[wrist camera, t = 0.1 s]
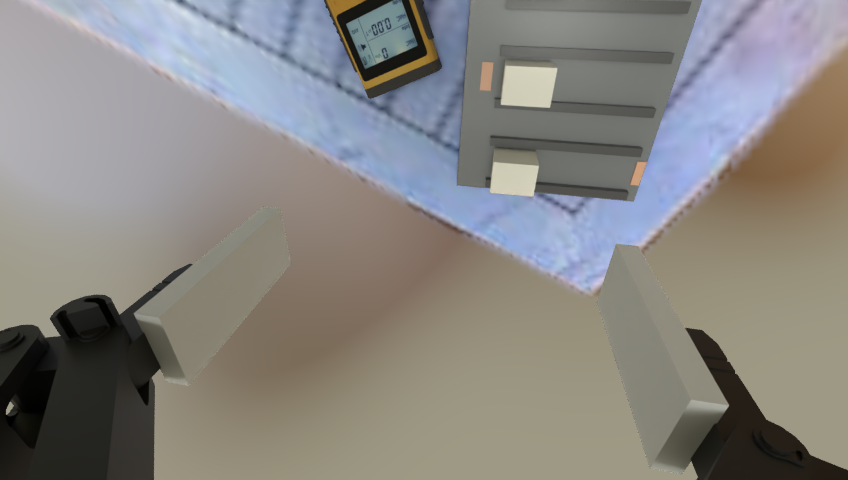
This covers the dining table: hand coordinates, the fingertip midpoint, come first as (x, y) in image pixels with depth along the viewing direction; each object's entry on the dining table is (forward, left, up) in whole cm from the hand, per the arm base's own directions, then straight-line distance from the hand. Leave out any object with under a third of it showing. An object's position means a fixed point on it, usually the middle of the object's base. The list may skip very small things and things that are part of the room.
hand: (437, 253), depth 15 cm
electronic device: (-9, -10, -28) cm, 32 cm away
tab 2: (+5, +4, -26) cm, 26 cm away
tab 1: (-3, +4, -26) cm, 26 cm away
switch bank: (-3, +8, -28) cm, 29 cm away
